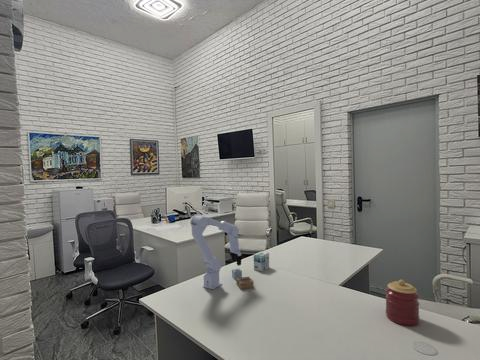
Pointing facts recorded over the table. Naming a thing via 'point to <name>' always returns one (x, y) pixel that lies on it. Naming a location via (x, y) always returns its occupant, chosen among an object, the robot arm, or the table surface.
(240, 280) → the walnut block
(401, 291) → the canister
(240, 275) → the slate cube
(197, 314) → the table surface
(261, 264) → the light bulb box
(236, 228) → the robot arm
